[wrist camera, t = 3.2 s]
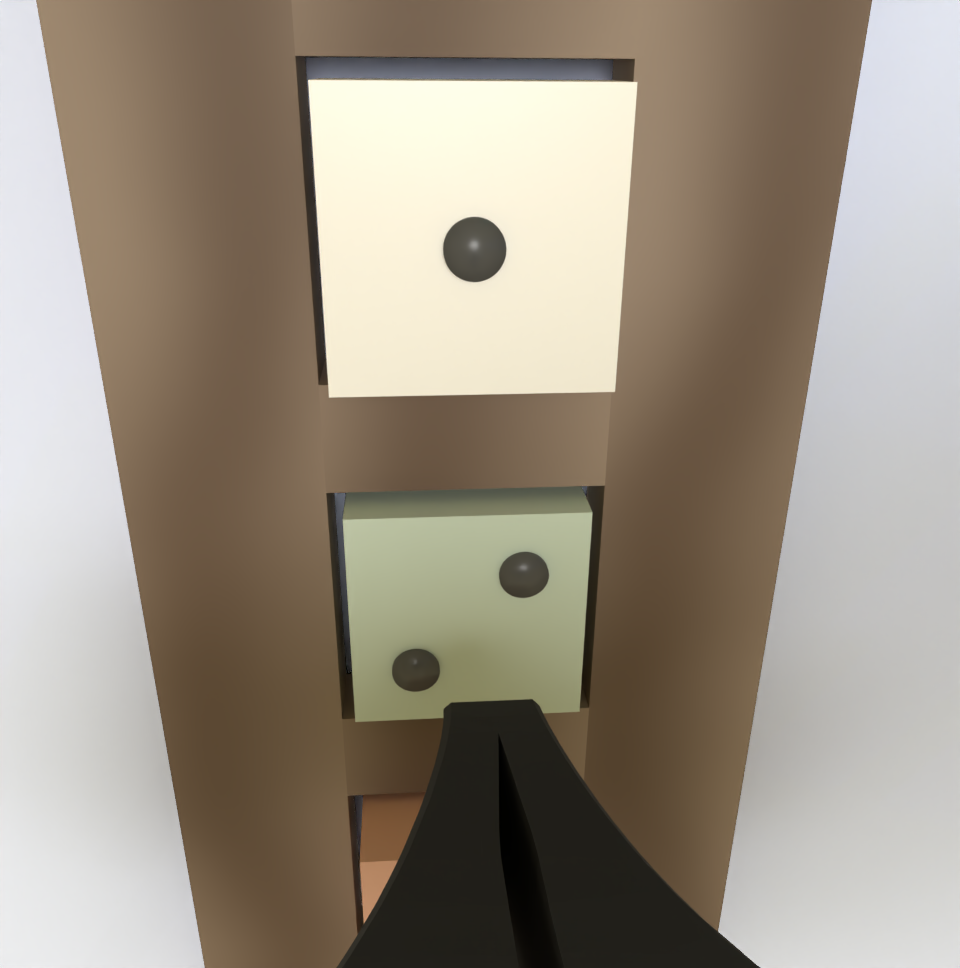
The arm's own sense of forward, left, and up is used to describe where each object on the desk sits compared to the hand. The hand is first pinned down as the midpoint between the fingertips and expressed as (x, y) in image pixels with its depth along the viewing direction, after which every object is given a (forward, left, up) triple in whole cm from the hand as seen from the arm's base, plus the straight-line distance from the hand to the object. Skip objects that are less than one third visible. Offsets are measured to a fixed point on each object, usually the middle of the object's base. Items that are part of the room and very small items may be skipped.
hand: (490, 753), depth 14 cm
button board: (0, 0, -6) cm, 6 cm away
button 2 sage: (0, 0, -6) cm, 6 cm away
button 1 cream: (0, -7, -5) cm, 8 cm away
